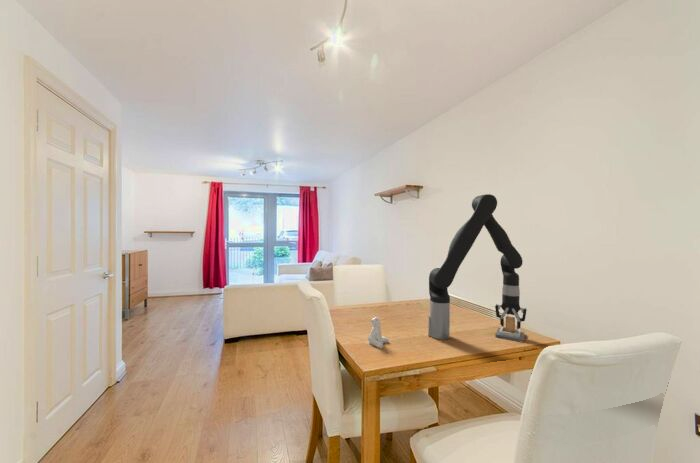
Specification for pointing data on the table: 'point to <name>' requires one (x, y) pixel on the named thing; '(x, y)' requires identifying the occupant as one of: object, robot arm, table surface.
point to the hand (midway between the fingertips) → (510, 327)
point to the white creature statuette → (376, 334)
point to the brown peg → (510, 324)
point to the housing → (510, 334)
